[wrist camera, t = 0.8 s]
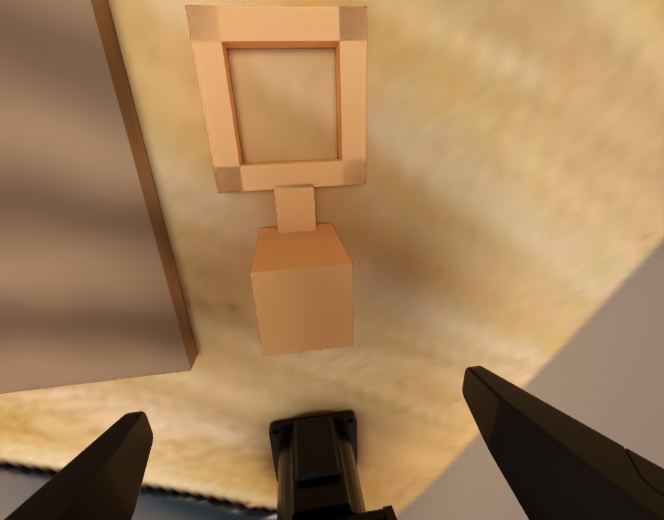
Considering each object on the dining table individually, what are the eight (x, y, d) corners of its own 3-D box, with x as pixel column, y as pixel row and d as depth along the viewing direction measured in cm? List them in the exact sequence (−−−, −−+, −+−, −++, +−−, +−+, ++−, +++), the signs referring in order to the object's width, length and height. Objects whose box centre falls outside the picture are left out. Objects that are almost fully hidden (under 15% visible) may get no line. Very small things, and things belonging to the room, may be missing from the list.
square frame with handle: (360, 282, 20) (390, 340, 14) (240, 293, 19) (222, 361, 13) (360, 16, 14) (408, -57, 9) (193, 15, 13) (129, -66, 8)
